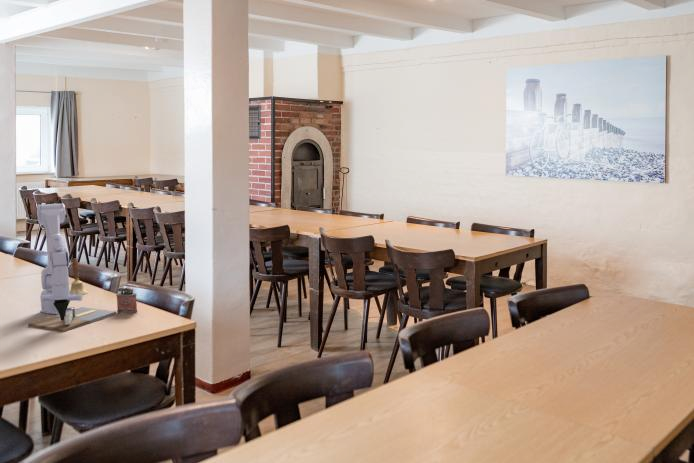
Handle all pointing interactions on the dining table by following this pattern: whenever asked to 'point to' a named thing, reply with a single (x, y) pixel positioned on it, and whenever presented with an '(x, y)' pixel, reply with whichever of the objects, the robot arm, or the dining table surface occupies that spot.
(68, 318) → the lock bar
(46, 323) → the plate
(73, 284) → the hand bell
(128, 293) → the red tin can
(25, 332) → the dining table surface
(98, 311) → the door plate
